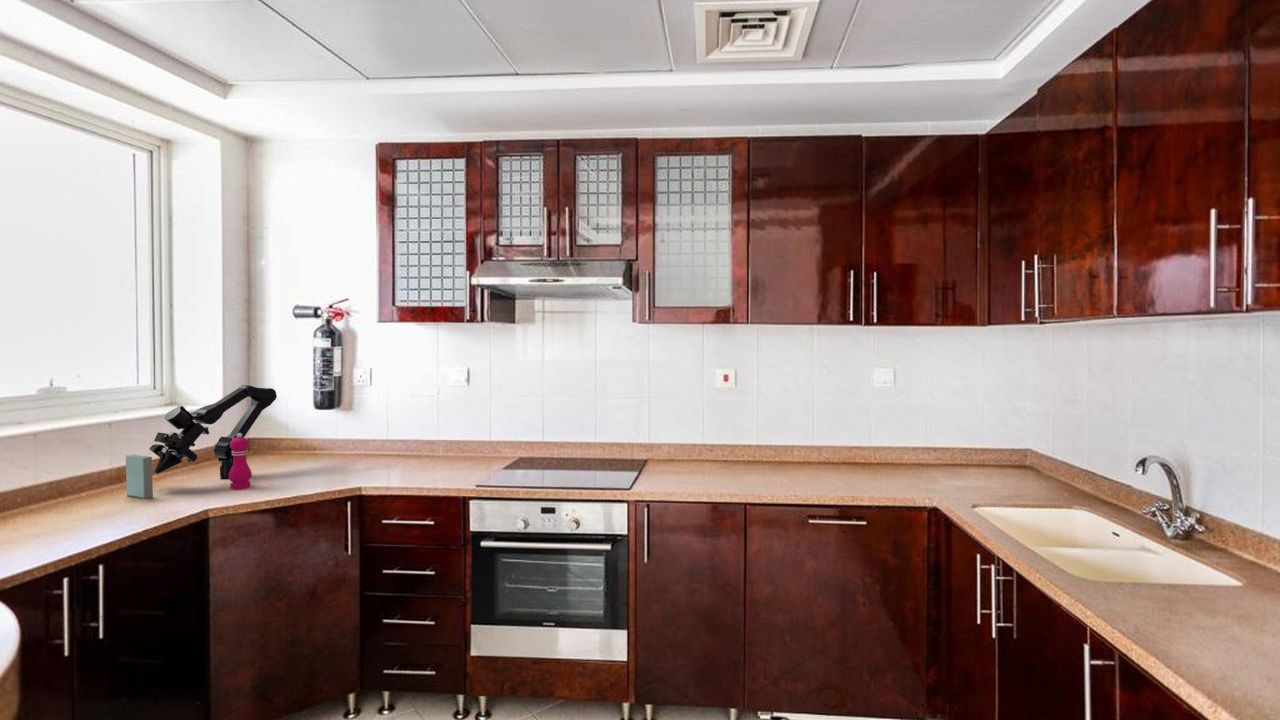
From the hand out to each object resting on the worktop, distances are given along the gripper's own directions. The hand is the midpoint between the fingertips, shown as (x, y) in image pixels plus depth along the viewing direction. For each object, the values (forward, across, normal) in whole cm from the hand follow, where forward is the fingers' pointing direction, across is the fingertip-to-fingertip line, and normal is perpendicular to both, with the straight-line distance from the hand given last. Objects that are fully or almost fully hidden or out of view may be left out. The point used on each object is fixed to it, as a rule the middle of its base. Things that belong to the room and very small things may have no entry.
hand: (156, 472), depth 232 cm
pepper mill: (-7, +19, +18) cm, 27 cm away
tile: (+9, 0, +1) cm, 9 cm away
